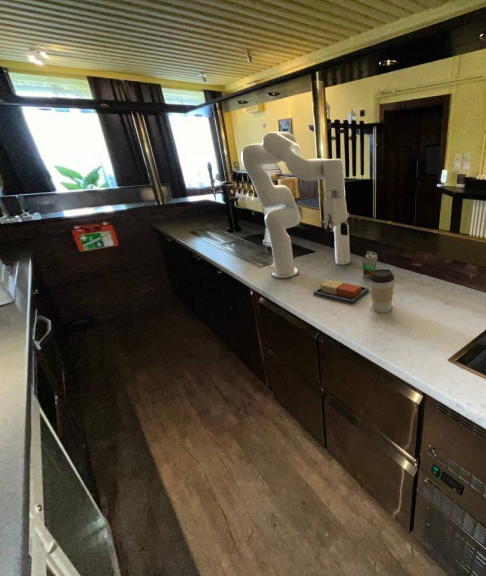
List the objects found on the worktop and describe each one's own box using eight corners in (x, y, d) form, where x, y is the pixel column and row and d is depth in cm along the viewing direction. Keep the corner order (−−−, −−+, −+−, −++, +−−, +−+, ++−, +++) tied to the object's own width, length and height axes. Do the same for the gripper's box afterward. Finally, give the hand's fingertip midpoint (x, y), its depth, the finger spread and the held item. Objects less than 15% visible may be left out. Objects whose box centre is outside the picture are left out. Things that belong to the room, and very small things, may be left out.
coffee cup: (378, 316, 110) (377, 278, 103) (365, 306, 117) (364, 270, 111) (398, 309, 113) (399, 272, 107) (385, 300, 121) (385, 265, 114)
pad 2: (337, 295, 126) (337, 288, 124) (345, 289, 130) (344, 282, 129) (354, 299, 122) (353, 292, 121) (361, 293, 127) (361, 286, 125)
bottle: (333, 264, 161) (329, 207, 149) (339, 259, 168) (335, 204, 155) (347, 265, 159) (343, 207, 146) (352, 260, 165) (350, 204, 152)
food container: (376, 279, 140) (375, 259, 136) (363, 279, 141) (362, 259, 137) (379, 270, 151) (379, 251, 146) (367, 269, 152) (366, 250, 148)
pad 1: (321, 291, 130) (320, 284, 129) (328, 286, 134) (328, 279, 133) (336, 295, 126) (335, 288, 125) (344, 289, 131) (343, 282, 129)
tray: (313, 295, 128) (313, 291, 127) (331, 283, 138) (331, 280, 137) (352, 304, 118) (352, 301, 118) (368, 291, 129) (368, 287, 128)
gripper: (339, 190, 123) (341, 232, 130) (313, 197, 110) (317, 242, 117) (355, 191, 119) (356, 233, 127) (330, 197, 106) (333, 244, 113)
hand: (337, 237), depth 122 cm, fingers open, 9 cm apart
